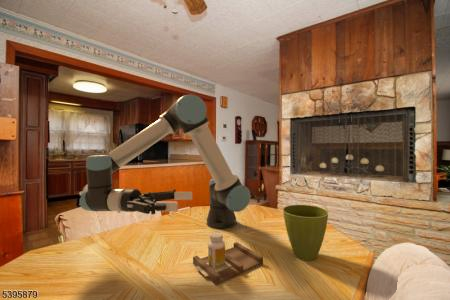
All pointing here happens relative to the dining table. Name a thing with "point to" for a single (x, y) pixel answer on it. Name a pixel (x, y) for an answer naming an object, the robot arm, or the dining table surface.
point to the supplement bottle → (216, 251)
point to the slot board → (230, 264)
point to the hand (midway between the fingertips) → (185, 200)
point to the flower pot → (305, 229)
